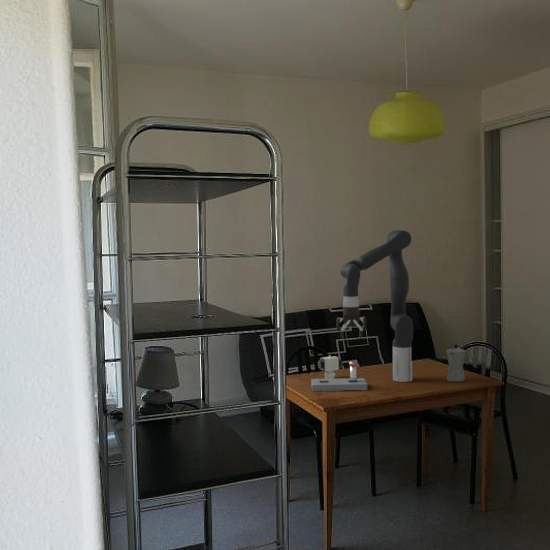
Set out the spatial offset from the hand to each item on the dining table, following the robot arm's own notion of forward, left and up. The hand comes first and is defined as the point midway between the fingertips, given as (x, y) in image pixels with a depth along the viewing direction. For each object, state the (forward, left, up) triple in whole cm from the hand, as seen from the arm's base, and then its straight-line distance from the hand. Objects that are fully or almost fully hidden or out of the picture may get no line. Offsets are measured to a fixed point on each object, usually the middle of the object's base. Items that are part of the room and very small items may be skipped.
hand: (351, 338), depth 302 cm
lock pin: (0, +2, -24) cm, 24 cm away
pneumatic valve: (+10, -17, -24) cm, 31 cm away
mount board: (+7, +2, -24) cm, 24 cm away
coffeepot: (-53, -10, -24) cm, 59 cm away
